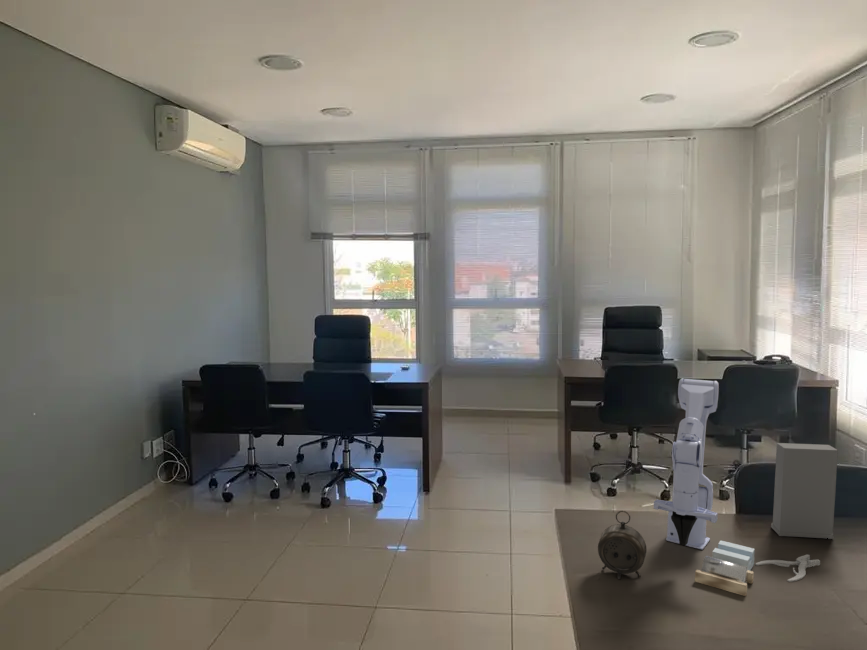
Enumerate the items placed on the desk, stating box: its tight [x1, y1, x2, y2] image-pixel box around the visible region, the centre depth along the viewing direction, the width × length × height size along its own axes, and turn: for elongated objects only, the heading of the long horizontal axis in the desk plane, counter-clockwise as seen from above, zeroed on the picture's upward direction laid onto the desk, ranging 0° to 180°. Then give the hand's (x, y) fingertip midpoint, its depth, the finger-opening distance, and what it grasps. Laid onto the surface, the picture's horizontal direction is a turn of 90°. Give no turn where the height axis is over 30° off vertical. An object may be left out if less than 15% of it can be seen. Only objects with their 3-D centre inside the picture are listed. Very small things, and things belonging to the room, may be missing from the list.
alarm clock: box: [597, 510, 647, 580], centre depth 151 cm, size 11×5×16 cm, turn 65°
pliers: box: [754, 554, 821, 583], centre depth 156 cm, size 10×2×15 cm
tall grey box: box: [770, 442, 839, 540], centre depth 175 cm, size 14×6×25 cm, turn 82°
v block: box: [711, 540, 756, 571], centre depth 157 cm, size 8×8×4 cm
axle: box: [701, 555, 748, 584], centre depth 149 cm, size 9×5×5 cm, turn 52°
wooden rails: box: [694, 569, 755, 597], centre depth 149 cm, size 11×8×2 cm
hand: (683, 543), depth 154 cm, fingers closed
